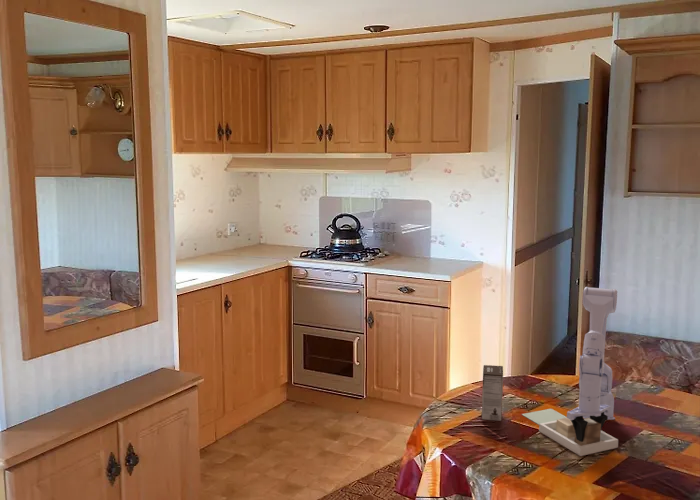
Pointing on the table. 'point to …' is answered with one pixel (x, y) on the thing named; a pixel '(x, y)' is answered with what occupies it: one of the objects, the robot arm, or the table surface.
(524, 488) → the table surface
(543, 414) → the tile
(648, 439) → the table surface
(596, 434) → the labelled box
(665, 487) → the table surface
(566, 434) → the plain box
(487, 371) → the coffee box
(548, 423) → the bin
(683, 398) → the table surface
